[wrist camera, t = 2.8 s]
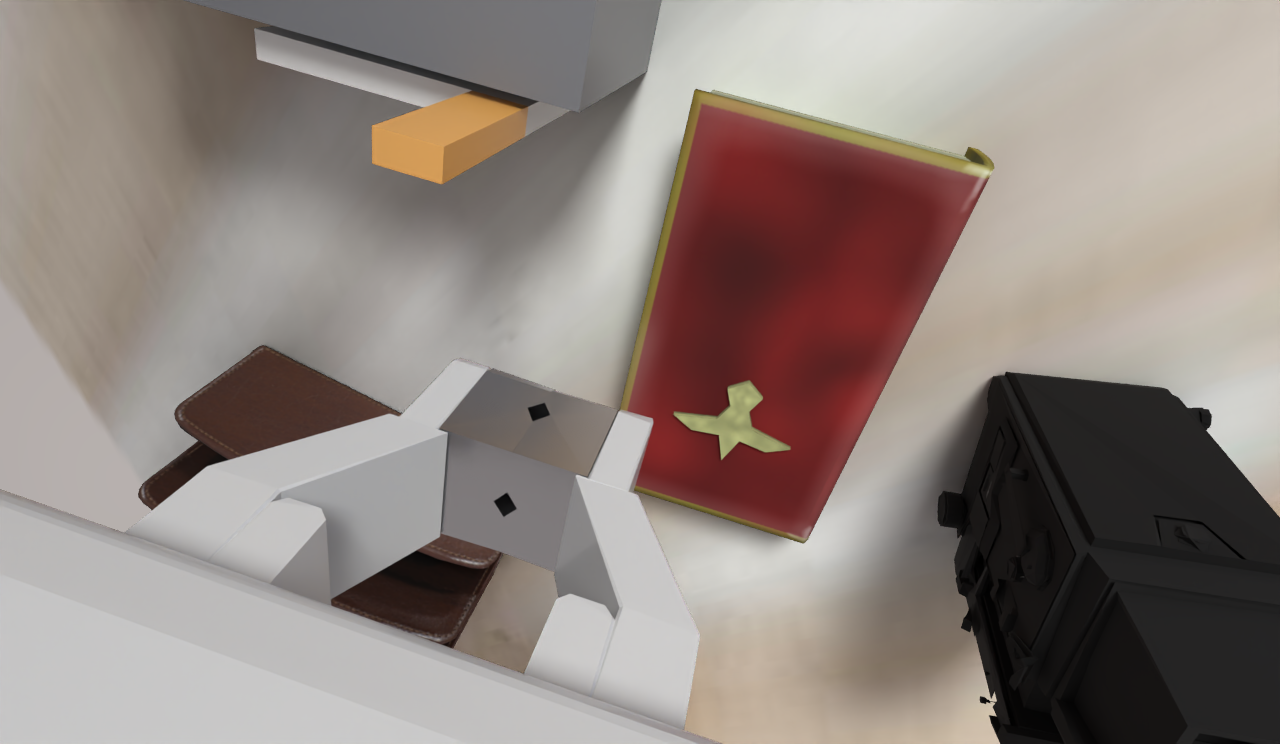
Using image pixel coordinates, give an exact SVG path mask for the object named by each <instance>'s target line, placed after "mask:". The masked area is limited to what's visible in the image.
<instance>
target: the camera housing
mask: <svg viewBox="0 0 1280 744" xmlns="http://www.w3.org/2000/svg"><path fill="white" fill-rule="evenodd" d="M184 1H188V2H191V3H195V4H198V5H202V6H205V7H209V8H213V9H216V10H220V11H223V12H227V13H230V14H234V15H237V16H241V17H244V18H248V19H251V20H255V21H258V22H262V23H265V24H269V25H272V26H276V27H279V28H283V29H286V30H290V31H293V32H297V33H300V34H304V35H307V36H311V37H315V38H318V39H322V40H325V41H329V42H332V43H336V44H339V45H343V46H346V47H350V48H353V49H357V50H360V51H364V52H367V53H371V54H374V55H378V56H381V57H385V58H388V59H392V60H395V61H399V62H402V63H406V64H409V65H413V66H417V67H420V68H424V69H427V70H431V71H434V72H438V73H441V74H445V75H448V76H452V77H455V78H459V79H462V80H466V81H469V82H473V83H476V84H480V85H483V86H487V87H490V88H494V89H497V90H501V91H504V92H508V93H511V94H515V95H519V96H522V97H526V98H529V99H533V100H536V101H540V102H543V103H547V104H550V105H554V106H557V107H561V108H564V109H568V110H571V111H575V112H578V113H579V112H581V111H583V110H584V109H586V108H587V107H589V106H591V105H592V104H594V103H596V102H597V101H599V100H601V99H602V98H604V97H606V96H607V95H609V94H611V93H612V92H614V91H616V90H617V89H619V88H621V87H622V86H624V85H626V84H627V83H629V82H630V81H632V80H634V79H635V78H637V77H639V76H640V75H642V74H644V73H645V72H647V68H648V64H649V59H650V54H651V49H652V44H653V39H654V34H655V29H656V25H657V20H658V15H659V10H660V5H661V0H184Z"/></svg>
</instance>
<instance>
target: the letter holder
mask: <svg viewBox="0 0 1280 744" xmlns="http://www.w3.org/2000/svg"><path fill="white" fill-rule="evenodd" d="M387 414H392V415H395V416H400V415H401V413H399V412H397V411H395V410H393V409H391V408H389V407H387V406H385V405H383V404H381V403H380V402H377V401H375V400H373V399H371V398H369V397H367V396H366V395H363V394H361V393H359V392H357V391H355V390H353V389H351V388H350V387H347V386H346V385H343V384H341V383H339V382H337V381H335V380H333V379H331V378H329V377H327V376H325V375H323V374H321V373H319V372H317V371H315V370H313V369H311V368H309V367H307V366H305V365H303V364H301V363H298V362H297V361H295V360H293V359H291V358H289V357H287V356H285V355H283V354H281V353H279V352H277V351H274V350H272V349H271V348H268V347H266V346H264V345H262V346H260V347H258V348H256V349H255V350H253V351H252V352H251V354H249V355H248V356H246V357H245V358H244V359H242V360H241V361H239V362H238V363H237V364H235V365H234V366H232V367H231V368H230V369H228V370H227V371H226V372H224V373H223V374H221V375H220V376H218V377H217V378H216V379H214V380H213V381H211V382H210V383H209V384H207V385H206V386H204V387H203V388H202V389H200V390H199V391H197V392H196V393H194V394H193V395H192V396H190V397H189V398H187V399H186V400H185V401H183V402H182V403H181V404H179V405H178V407H177V408H176V410H175V413H174V415H175V420H176V421H177V422H178V424H179V426H180V427H181V428H182V429H183V430H184V431H185V432H187V433H188V434H189V435H191V436H192V437H194V438H196V439H197V440H199V441H198V442H196V443H195V444H194V445H192V446H191V447H190V448H188V449H187V450H186V451H185V452H183V453H182V454H181V455H179V456H178V457H177V458H176V459H174V460H173V461H172V462H170V463H169V464H168V465H166V466H165V467H164V468H162V469H161V470H160V471H158V472H157V473H156V474H154V475H153V476H151V477H150V478H149V479H148V480H147V481H145V482H144V483H143V484H142V486H141V488H140V489H139V493H138V496H139V498H140V499H141V501H142V502H143V503H144V504H145V505H146V506H148V507H149V508H150V509H151V510H153V509H155V508H156V507H157V506H158V505H160V504H161V503H162V502H163V501H165V500H166V499H167V498H168V497H170V496H171V495H172V494H173V493H175V492H176V491H177V490H178V489H180V488H181V487H182V486H183V485H185V484H186V483H187V482H188V481H190V480H191V479H192V478H193V477H195V476H196V475H197V474H198V473H200V472H201V471H202V470H203V469H205V468H206V467H207V466H210V465H213V464H217V463H220V462H224V461H227V460H231V459H234V458H238V457H241V456H245V455H248V454H251V453H255V452H258V451H262V450H265V449H269V448H272V447H276V446H279V445H283V444H286V443H290V442H293V441H297V440H300V439H303V438H307V437H310V436H314V435H317V434H321V433H324V432H328V431H331V430H335V429H338V428H342V427H345V426H348V425H352V424H355V423H359V422H362V421H366V420H369V419H373V418H376V417H380V416H383V415H387ZM502 555H503V553H502V552H499V551H496V550H493V549H490V548H487V547H483V546H480V545H477V544H474V543H470V542H467V541H464V540H461V539H457V538H454V537H451V536H448V535H444V534H441V533H440V537H439V538H437V539H435V540H433V541H432V542H430V543H428V544H426V545H425V546H423V547H421V548H419V549H418V550H416V551H414V552H412V553H411V554H409V555H407V556H406V557H404V558H402V559H400V560H399V561H397V562H395V563H393V564H392V565H390V566H388V567H386V568H385V569H383V570H381V571H379V572H378V573H376V574H374V575H372V576H371V577H369V578H367V579H365V580H364V581H362V582H360V583H358V584H357V585H355V586H353V587H351V588H350V589H348V590H346V591H344V592H343V593H341V594H339V595H337V596H336V597H334V598H332V599H331V606H333V607H336V608H339V609H342V610H344V611H347V612H350V613H353V614H356V615H359V616H361V617H364V618H367V619H370V620H373V621H376V622H378V623H381V624H384V625H387V626H390V627H393V628H395V629H398V630H401V631H404V632H407V633H410V634H412V635H415V636H418V637H421V638H424V639H427V640H430V641H432V642H435V643H438V644H441V645H444V646H447V647H449V648H452V649H453V648H454V646H455V644H456V642H457V640H458V638H459V637H460V635H461V633H462V631H463V629H464V627H465V625H466V624H467V622H468V620H469V618H470V616H471V614H472V613H473V611H474V609H475V607H476V605H477V603H478V601H479V599H480V598H481V596H482V594H483V592H484V590H485V588H486V587H487V585H488V583H489V581H490V580H491V577H492V576H493V574H494V572H495V569H496V567H497V565H498V563H499V561H500V559H501V557H502Z"/></svg>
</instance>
